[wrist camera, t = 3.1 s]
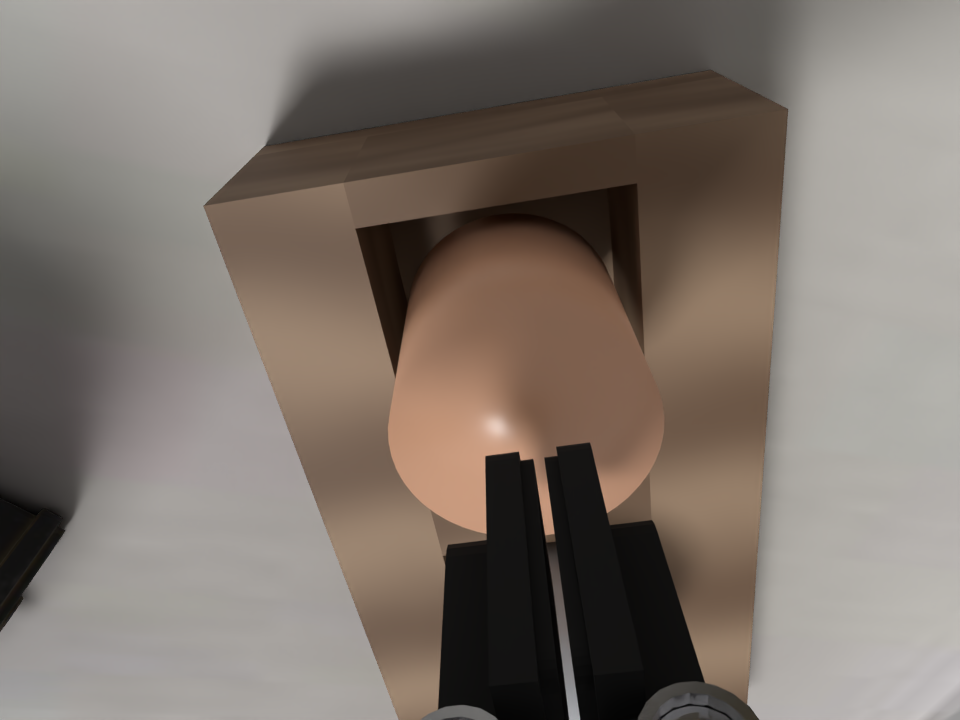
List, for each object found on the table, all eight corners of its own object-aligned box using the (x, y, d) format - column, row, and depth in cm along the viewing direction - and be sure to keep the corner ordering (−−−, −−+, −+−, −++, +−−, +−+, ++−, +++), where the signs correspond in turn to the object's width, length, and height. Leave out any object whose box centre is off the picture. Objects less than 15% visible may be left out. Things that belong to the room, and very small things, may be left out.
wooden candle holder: (264, 146, 19) (203, 205, 14) (711, 70, 18) (788, 109, 14) (450, 731, 33) (447, 848, 29) (702, 704, 32) (738, 820, 28)
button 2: (387, 231, 16) (357, 339, 11) (607, 197, 15) (660, 293, 11) (430, 409, 18) (419, 551, 14) (619, 382, 18) (667, 520, 14)
